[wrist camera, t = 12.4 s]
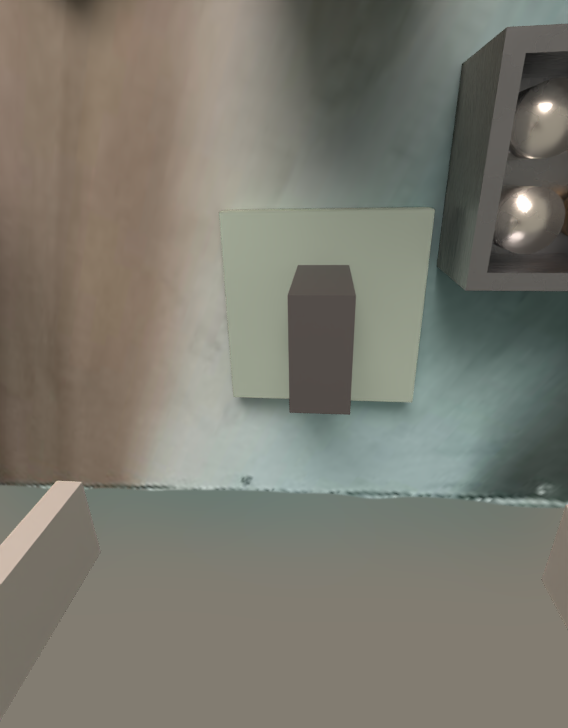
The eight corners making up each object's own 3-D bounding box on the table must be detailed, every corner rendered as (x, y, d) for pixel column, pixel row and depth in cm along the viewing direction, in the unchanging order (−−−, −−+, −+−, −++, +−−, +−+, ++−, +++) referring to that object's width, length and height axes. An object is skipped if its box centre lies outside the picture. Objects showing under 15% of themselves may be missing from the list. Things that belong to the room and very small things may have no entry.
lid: (238, 385, 36) (207, 457, 27) (225, 210, 30) (180, 225, 21) (407, 390, 34) (436, 467, 25) (428, 207, 29) (474, 222, 20)
